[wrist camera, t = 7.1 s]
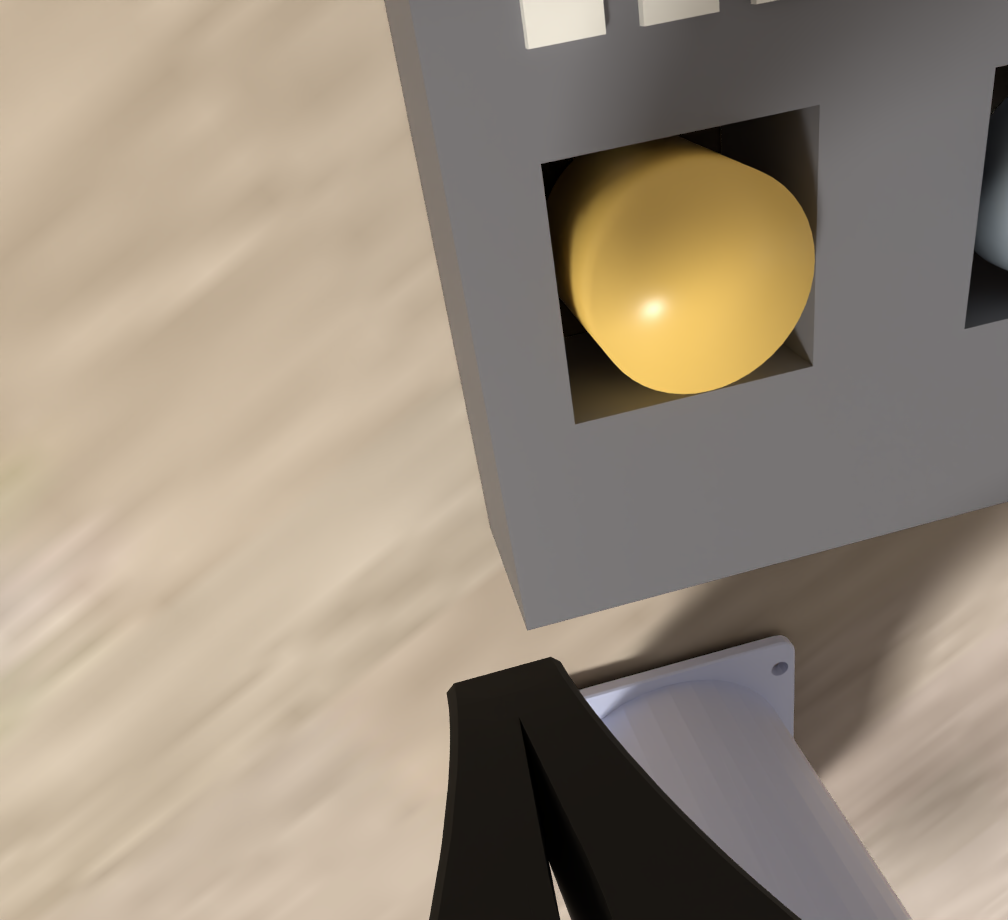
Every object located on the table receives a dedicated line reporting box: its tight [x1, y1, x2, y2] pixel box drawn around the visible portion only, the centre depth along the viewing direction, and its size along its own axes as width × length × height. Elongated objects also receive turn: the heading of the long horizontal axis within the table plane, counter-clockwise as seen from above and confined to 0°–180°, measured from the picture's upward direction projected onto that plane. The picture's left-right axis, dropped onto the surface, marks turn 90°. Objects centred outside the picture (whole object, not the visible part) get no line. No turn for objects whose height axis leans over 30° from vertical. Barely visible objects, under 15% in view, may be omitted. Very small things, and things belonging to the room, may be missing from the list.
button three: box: [546, 135, 815, 394], centre depth 17 cm, size 4×4×4 cm
